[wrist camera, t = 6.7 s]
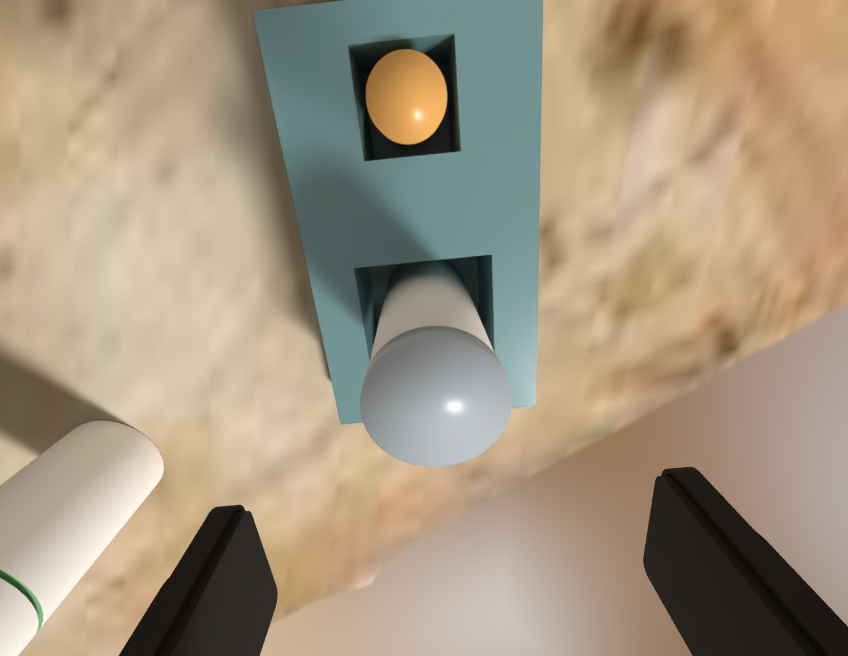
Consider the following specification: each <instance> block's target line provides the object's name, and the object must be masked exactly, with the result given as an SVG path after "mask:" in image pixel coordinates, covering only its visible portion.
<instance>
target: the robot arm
mask: <svg viewBox="0 0 848 656" xmlns="http://www.w3.org/2000/svg"><path fill="white" fill-rule="evenodd" d="M643 563H644V568H645V571H646V574H647V576H648V578H649V580H650V582H651V583H652V585H653V587H654V589H655V590H656V592H657V594H658V595H659V597H660V599H661V601H662V603H663V604H664V606H665V608H666V610H667V611H668V613H669V615H670V616H671V619H672V620H673V622H674V624H675V625H676V627H677V629H678V631H679V633H680V634H681V636H682V638H683V640H684V641H685V643H686V645H687V647H688V648H689V650H690V652H691V654H692V655H693V656H848V626H847V625H846V624H845V623H844V622H843V621H842V620H841V619H840V618H839V617H838V616H837V615H836V614H835V613H834V612H833V610H832V609H831V608H830V607H829V606H828V605H827V604H826V603H825V602H824V601H823V600H822V599H821V598H820V597H819V596H818V595H817V594H816V593H815V591H814V590H812V588H811V587H810V586H809V585H808V584H807V583H806V582H805V581H804V580H803V579H802V578H801V577H800V576H799V575H798V574H797V572H795V570H794V569H793V568H792V567H791V566H790V565H789V564H788V563H787V562H786V561H785V560H784V559H783V558H782V557H781V556H780V555H779V553H778V552H777V551H776V550H775V549H774V548H773V547H772V546H771V545H770V544H769V543H768V542H767V541H766V540H765V539H764V538H763V537H762V536H761V535H760V534H758V533H757V532H756V531H755V530H754V529H753V528H752V527H751V526H750V525H749V524H748V523H747V522H746V521H745V520H744V519H743V518H742V517H741V515H739V514H738V512H737V511H736V510H735V509H734V508H733V507H732V506H731V505H730V504H729V503H728V502H727V501H726V499H725V498H724V497H723V496H722V495H721V494H720V493H719V492H718V491H717V490H716V489H715V488H714V487H713V486H712V485H711V484H710V482H709V481H708V480H707V479H706V478H705V477H704V476H703V475H702V474H701V473H700V472H699V471H698V470H697V469H695V468H693V467H683V468H671V469H664V471H663V472H662V475H661V476H658V477H657V478H656V480H655V486H654V492H653V499H652V506H651V512H650V519H649V526H648V531H647V538H646V544H645V551H644V557H643ZM277 595H278V594H277V587H276V584H275V581H274V578H273V575H272V572H271V569H270V566H269V563H268V560H267V557H266V554H265V551H264V548H263V546H262V543H261V540H260V537H259V534H258V531H257V528H256V525H255V522H254V519H253V516H252V514H251V512H250V511H245V509H244V507H243V506H242V505H233V506H221V507H215V508H213V509H212V510H211V512H210V513H209V514H208V516H207V518H206V519H205V521H204V522H203V524H202V526H201V527H200V529H199V531H198V532H197V534H196V535H195V537H194V539H193V540H192V542H191V544H190V545H189V547H188V548H187V550H186V552H185V553H184V555H183V557H182V558H181V560H180V561H179V563H178V565H177V566H176V568H175V569H174V571H173V573H172V574H171V576H170V578H168V579H167V580H166V582H165V583H164V584H163V586H162V587H161V589H160V590H159V592H158V593H157V595H156V597H155V598H154V600H153V601H152V603H151V605H150V606H149V608H148V609H147V611H146V613H145V614H144V616H143V617H142V619H141V621H140V622H139V624H138V626H137V627H136V629H135V630H134V632H133V634H132V635H131V637H130V638H129V640H128V642H127V643H126V645H125V646H124V648H123V650H122V651H121V653H120V654H119V656H260V653H261V650H262V647H263V644H264V641H265V637H266V635H267V632H268V629H269V626H270V623H271V619H272V616H273V613H274V610H275V607H276V603H277Z"/></svg>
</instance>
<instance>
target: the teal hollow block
mask: <svg viewBox="0 0 848 656" xmlns="http://www.w3.org/2000/svg"><path fill="white" fill-rule="evenodd" d="M252 13H253V17H254V22H255V27H256V31H257V36H258V41H259V45H260V50H261V55H262V59H263V64H264V69H265V73H266V78H267V83H268V87H269V92H270V97H271V101H272V106H273V111H274V115H275V120H276V125H277V129H278V134H279V139H280V143H281V148H282V153H283V157H284V162H285V167H286V172H287V176H288V181H289V186H290V190H291V195H292V200H293V204H294V209H295V214H296V218H297V223H298V228H299V232H300V237H301V242H302V246H303V251H304V256H305V260H306V265H307V270H308V274H309V279H310V284H311V288H312V293H313V298H314V302H315V307H316V312H317V316H318V321H319V326H320V330H321V335H322V340H323V344H324V349H325V354H326V358H327V363H328V368H329V372H330V377H331V382H332V386H333V391H334V396H335V400H336V405H337V410H338V414H339V419H340V424H351V423H362V422H363V420H362V417H361V411H360V396H361V391H362V387H363V382H364V378H365V374H366V371H367V368H368V366H369V363H370V359H371V354H372V350H373V346H374V341H375V337H376V332H377V328H378V324H379V319H380V315H381V311H382V306H383V302H384V298H385V293H386V289H387V285H388V282H389V279H390V277H391V275H392V274H393V272H394V271H395V270H396V268H397V267H398V266H400V265H401V264H402V263H412V262H422V261H432V260H442V259H444V260H446V261H448V262H449V263H451V264H452V265H453V266H454V267H455V268H456V269H457V270H458V271H459V272H460V274H461V276H462V278H463V280H464V282H465V285H466V287H467V289H468V292H469V294H470V296H471V299H472V301H473V303H474V306H475V308H476V311H477V313H478V315H479V318H480V320H481V322H482V325H483V327H484V329H485V332H486V334H487V336H488V339H489V341H490V344H491V346H492V348H493V351H494V353H495V354H496V356H497V358H498V359H499V361H500V363H501V366H502V368H503V370H504V373H505V375H506V377H507V380H508V382H509V385H510V389H511V396H512V406H511V409H513V408H524V407H535V406H536V375H537V319H538V261H539V204H540V146H541V88H542V31H543V0H343V1H334V2H325V3H315V4H306V5H297V6H288V7H279V8H270V9H261V10H252ZM401 49H410V50H415V51H419V52H421V53H423V54H425V55H426V56H428V57H429V58H430V59H431V60H433V62H434V63H435V64H436V65H437V66H438V68H439V69H440V71H441V73H442V75H443V77H444V80H445V83H446V88H447V106H446V110H445V114H444V116H443V119H442V121H441V123H440V124H439V126H438V128H437V129H436V131H435V132H434V134H433V135H432V137H431V138H430V139H429V140H427V141H426V142H425V143H423V144H421V145H419V146H416V147H402V146H399V145H396V144H394V143H393V142H391V141H390V140H389V139H388V138H387V137H386V136H385V135H384V134H383V133H382V132H381V131H380V130H379V129H378V128H377V127H376V126H375V124H374V123H373V121H372V119H371V117H370V115H369V112H368V109H367V104H366V86H367V81H368V78H369V76H370V73H371V71H372V69H373V68H374V66H375V65H376V64H377V62H378V61H379V60H380V59H381V58H383V57H384V56H385V55H387V54H389V53H391V52H393V51H396V50H401Z"/></svg>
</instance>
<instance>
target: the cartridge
mask: <svg viewBox="0 0 848 656" xmlns="http://www.w3.org/2000/svg"><path fill="white" fill-rule="evenodd" d="M511 406H512V396H511V389H510V385H509V382H508V380H507V377H506V375H505V373H504V370H503V368H502V366H501V363H500V361H499V359H498V358H497V356H496V354H495V353H494V351H493V348H492V346H491V344H490V341H489V339H488V336H487V334H486V332H485V329H484V327H483V325H482V322H481V320H480V318H479V315H478V313H477V311H476V308H475V306H474V303H473V301H472V299H471V296H470V294H469V292H468V289H467V287H466V285H465V282H464V280H463V278H462V276H461V274H460V272H459V271H458V270H457V269H456V268H455V267H454V266H453V265H452V264H451V263H449V262H448V261H446V260H444V259H442V260H432V261H422V262H412V263H402V264H401V265H400V266H398V267H397V268H396V270H395V271H394V272H393V274H392V275H391V277H390V279H389V282H388V285H387V289H386V293H385V298H384V302H383V306H382V311H381V315H380V319H379V324H378V328H377V332H376V337H375V341H374V346H373V350H372V354H371V359H370V363H369V366H368V368H367V371H366V374H365V378H364V382H363V387H362V391H361V396H360V411H361V417H362V420H363V423H364V426H365V428H366V430H367V432H368V433H369V435H370V437H371V438H372V439H373V440H374V442H375V443H376V444H377V445H378V446H379V447H380V448H381V449H383V450H384V451H385V452H387V453H388V454H389V455H391V456H393V457H395V458H397V459H399V460H401V461H404V462H407V463H410V464H414V465H419V466H426V467H442V466H449V465H454V464H458V463H461V462H464V461H467V460H469V459H471V458H473V457H475V456H477V455H479V454H480V453H482V452H484V451H485V450H486V449H487V448H489V447H490V446H491V445H492V444H493V443H494V442H495V441H496V440H497V439H498V437H499V436H500V435H501V433H502V432H503V430H504V428H505V426H506V425H507V422H508V419H509V417H510V412H511Z"/></svg>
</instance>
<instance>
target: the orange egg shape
mask: <svg viewBox="0 0 848 656" xmlns="http://www.w3.org/2000/svg"><path fill="white" fill-rule="evenodd" d="M366 104H367V109H368V112H369V115H370V117H371V119H372V121H373V123H374V124H375V126H376V127H377V128H378V129H379V130H380V131H381V132H382V133H383V134H384V135H385V136H386V137H387V138H388V139H389V140H390V141H391V142H393V143H394V144H396V145H399V146H402V147H416V146H419V145H421V144H423V143H425V142H426V141H427V140H429V139H430V138H431V137H432V135H433V134H434V132H435V131H436V129H437V128H438V126H439V124H440V123H441V121H442V119H443V116H444V114H445V110H446V106H447V88H446V83H445V80H444V77H443V75H442V73H441V71H440V69H439V68H438V66H437V65H436V64H435V63H434V62H433V60H431V59H430V58H429V57H428V56H426V55H425V54H423V53H421V52H419V51H415V50H410V49H401V50H396V51H393V52H391V53H389V54H387V55H385V56H384V57H383V58H381V59H380V60H379V61H378V62H377V64H376V65H375V66H374V68H373V69H372V71H371V73H370V76H369V78H368V81H367V86H366Z"/></svg>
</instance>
